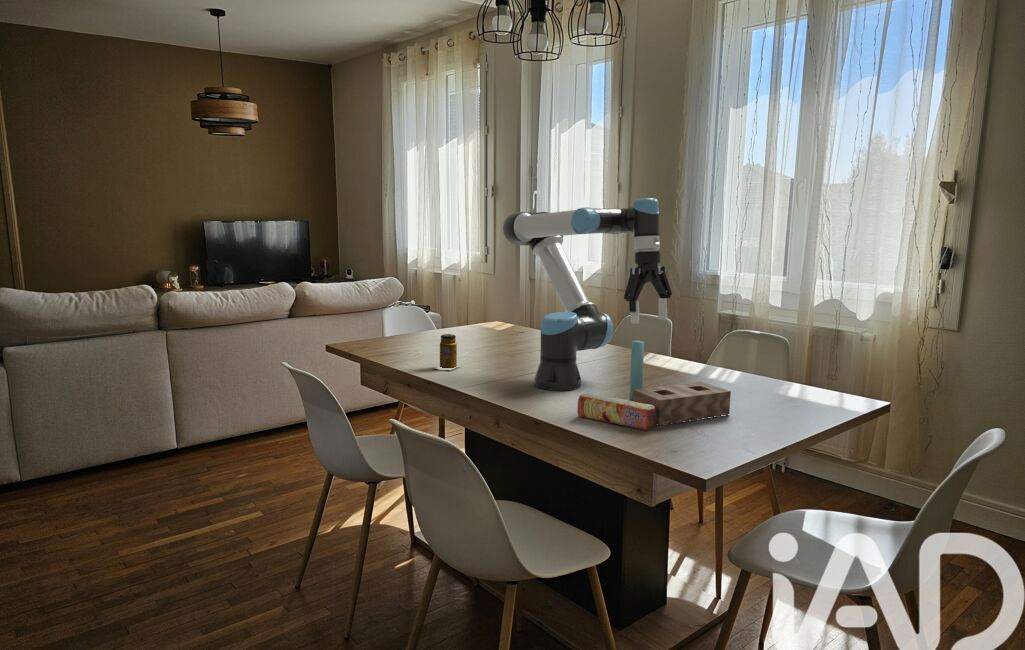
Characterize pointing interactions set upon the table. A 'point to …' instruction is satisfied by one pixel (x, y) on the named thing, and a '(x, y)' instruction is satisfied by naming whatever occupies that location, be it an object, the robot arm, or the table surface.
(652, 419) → the snack package
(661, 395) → the hole block
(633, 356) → the peg
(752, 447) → the table surface
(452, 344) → the condiment
